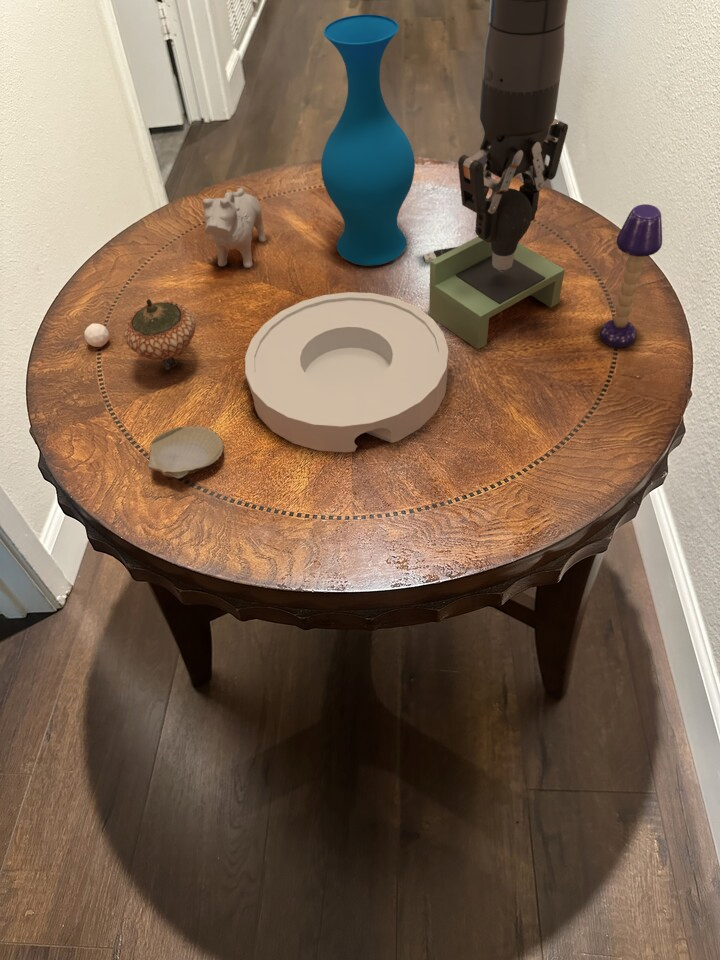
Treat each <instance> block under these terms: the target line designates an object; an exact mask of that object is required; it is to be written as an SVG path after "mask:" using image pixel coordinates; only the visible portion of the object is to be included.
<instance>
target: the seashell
mask: <svg viewBox="0 0 720 960" xmlns="http://www.w3.org/2000/svg"><path fill="white" fill-rule="evenodd" d="M224 449H225V445H224V440H223V439H222V437H221V436H220V435H219V433H217V432H216V431H214V430H212V429H210V428H207V427H206V426H200V425H197V426H195V425H190V426H177V427H176V428H171V429H169V430H166V431H164V432H162V433H160V434H159V435H157V436H155V437H154V438H153V439H152V441H151V443H150V445H149V452H150V456H149V461H148V465H147V467H148V468H149V470H152V471H156V472H160V474H161V475H163V476H164V477H169V478H176V479H183V478H184V477H187V475H190V474H193V473H196V472H198V471H201V470H203V469H205V468H208V467H210V466H212V465H213V464H215V462H217V461H218V460H219V459H220V457H222V455H223V453H224Z"/></svg>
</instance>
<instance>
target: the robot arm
mask: <svg viewBox="0 0 720 960" xmlns="http://www.w3.org/2000/svg"><path fill="white" fill-rule="evenodd" d="M568 4H569V0H489V9H488V10H489V11H488V23H487V31H486V37H485V40H484V48H483V61H482V77H481V94H480V108H479V109H480V110H479V119H480V123H481V125H482V128H483V132H484V134H483V135H484V136H483V139H482V142H481V144H480V148H479V150H478V151H477V152H475V154H473V155H471V156H468V155H466V154H462V155H461V156H459V159H458V160H457V166H458V167H457V168H458V176H459V186H460V197H461V205H462V206H463V207H465V208H467V209H468V210H470V211H472V212H473V213H476V217H475V230H474V231H475V234H476V235H477V237H479V238H481V239H482V240H484V241H486V242H488V243H490V242H492V241H494V240H495V235H496V223H497V211H496V210H497V207H498V205H499V202H500V199H501V197H502V194H503V193H506V192H507V191H508V189H509V188H510V186H511V183H512V181H513V179H514V178H515V177H516V176H517V175H518V176H519V178H520V182H521V183H522V185H520V186H519V189H518V191H520V192H522V193H523V194H524V195H525V196H526V197H527V198H528V200H529V202H530V204H531V207H532V220H531V222H533V221H534V220H535V218H536V214H537V211H538V206H539V198H540V191H541V190H542V189H543V188H544V186H545V182H546V181H547V180H550V181H552V180H554V179H555V177H556V175H557V172H558V169H559V164H560V160H561V157H562V153H563V149H564V145H565V141H566V137H567V133H568V130H569V125H568V123H565V122H564V121H562V120H559V119H556V113H557V104H558V97H559V90H560V84H561V83H560V82H561V75H562V68H563V60H564V53H565V33H566V32H565V29H566V19H567V17H566V16H567V11H568ZM547 156H548V157H549V160H548V165H547V164H545V162H546V158H547ZM492 175H494V176H496V177H498V178H499V179H500V180H499V181H498V180H496V179H494V178H493V176H492ZM489 190H491V194H490V196H491V197H490V196H489V197H490V200H489V198H487V197H488V194H489Z"/></svg>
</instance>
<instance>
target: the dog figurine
mask: <svg viewBox="0 0 720 960" xmlns="http://www.w3.org/2000/svg"><path fill="white" fill-rule="evenodd" d="M202 206H203V216H204V217H203V218H204V223H205V228H204V232H205V233H206V234H207V235H210V238H211V240H212V242H213V244H214V245H215V246H216V250H217V264H218V265H217V266H219V267H225V266H226V265H227V264H228V254H229V250H231V251H232V250H237V251H239V252H240V254H241V256H242V257H241V258H242V264H243V267H244V268H246V269H247V268H249V269H250V268H251V267H253V265H254V264H253V258H252V256H253V255H252V241H253V234H254V228H255V231H257V236H258V241H259V242H262V243H263V242H265V241H266V240H267V238H266V233H265V227H264V221H263V214H262V206H261V204H260V202H259V201H258V199H257V197H255V196H253V195H252V194H248V193H247V192H246V191H245V190H244V188H243V187H239V188H237V190H236V191H235V192H232V191H226V193H224V196H223V197H216V198H207V197H206V198H203V200H202Z"/></svg>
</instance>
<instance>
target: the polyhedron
mask: <svg viewBox="0 0 720 960" xmlns="http://www.w3.org/2000/svg"><path fill="white" fill-rule="evenodd" d="M83 333H84V340H85V341H86V343H87V344H88V345H91V346H92V347H93V348H95V347H96V348H97V347H98V348H101V347H103V346H104V345H106V344H107V343H108V341H109V339H110V333H109V329H107V328H106V326H105V325H103V324H101V323H95V322H93V323H91V324H90V325H88V326H87V327H86V329H85V330H84V332H83Z"/></svg>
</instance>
